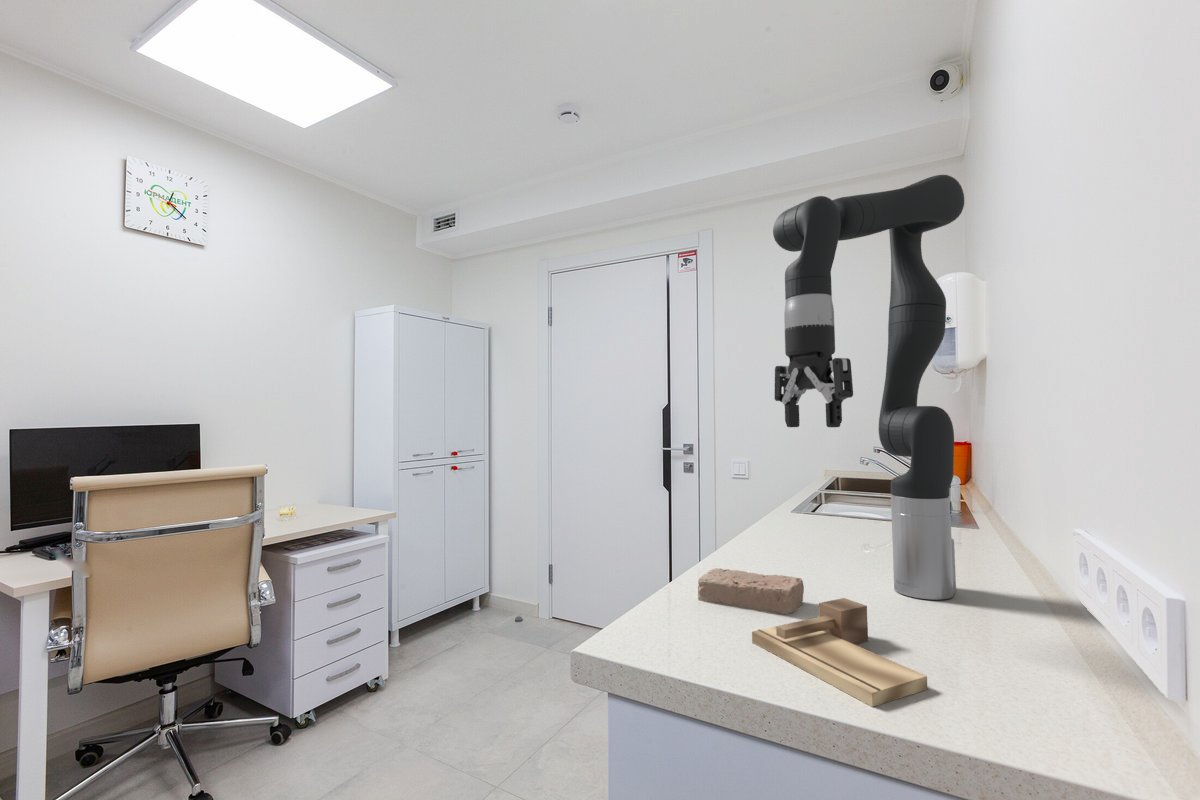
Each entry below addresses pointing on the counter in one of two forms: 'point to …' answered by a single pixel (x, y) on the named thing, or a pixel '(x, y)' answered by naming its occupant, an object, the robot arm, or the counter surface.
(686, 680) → the counter surface
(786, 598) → the brick
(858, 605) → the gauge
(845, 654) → the board
